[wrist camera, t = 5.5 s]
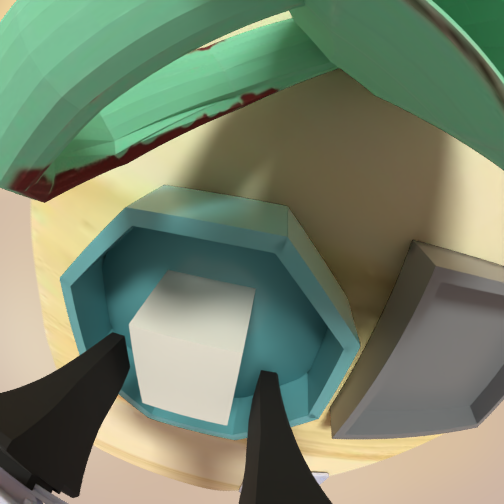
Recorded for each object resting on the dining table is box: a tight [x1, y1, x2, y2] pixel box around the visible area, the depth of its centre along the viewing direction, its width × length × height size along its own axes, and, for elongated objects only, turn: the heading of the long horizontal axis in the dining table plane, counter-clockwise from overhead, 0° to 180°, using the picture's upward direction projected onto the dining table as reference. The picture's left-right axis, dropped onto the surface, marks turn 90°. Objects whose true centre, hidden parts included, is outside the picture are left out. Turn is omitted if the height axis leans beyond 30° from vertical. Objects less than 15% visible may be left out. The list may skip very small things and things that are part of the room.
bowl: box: [60, 185, 360, 440], centre depth 13 cm, size 13×13×3 cm
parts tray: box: [330, 240, 504, 439], centre depth 13 cm, size 12×13×2 cm
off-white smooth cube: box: [129, 270, 256, 426], centre depth 12 cm, size 5×4×4 cm
